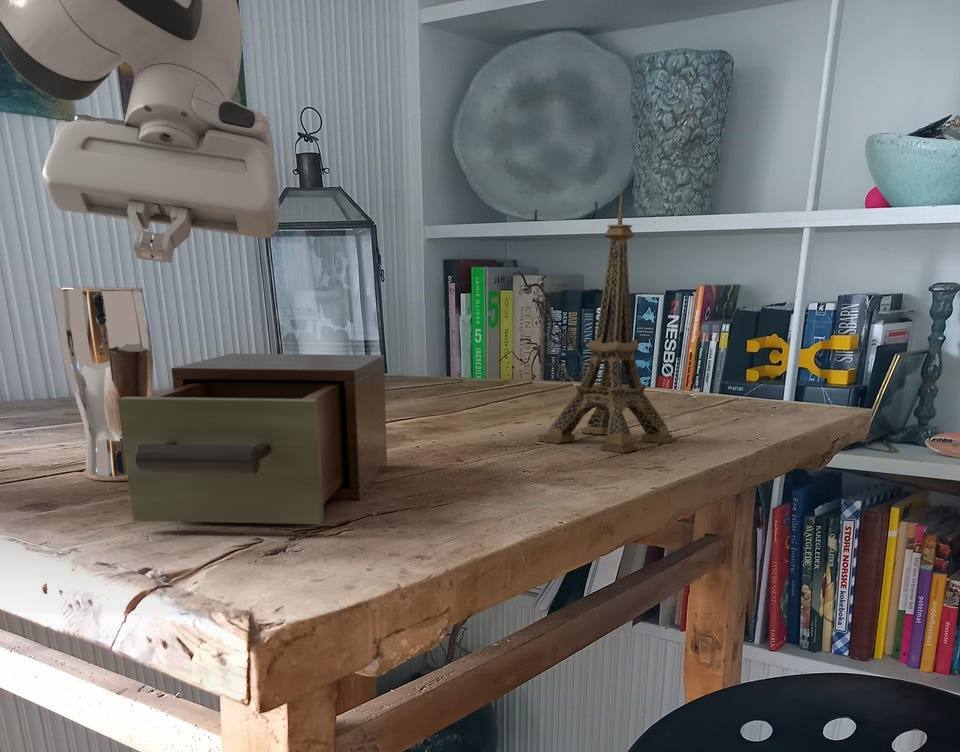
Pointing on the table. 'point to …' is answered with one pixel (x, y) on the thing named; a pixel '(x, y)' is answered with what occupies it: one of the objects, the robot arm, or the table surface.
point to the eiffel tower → (612, 366)
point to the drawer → (235, 451)
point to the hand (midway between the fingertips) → (152, 256)
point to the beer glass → (105, 365)
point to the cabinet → (353, 370)
